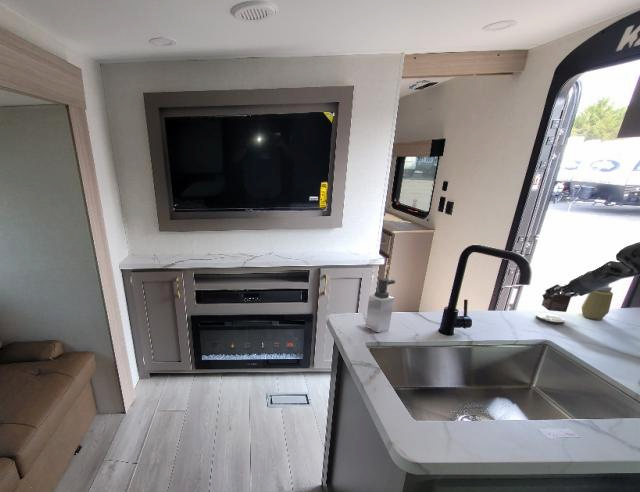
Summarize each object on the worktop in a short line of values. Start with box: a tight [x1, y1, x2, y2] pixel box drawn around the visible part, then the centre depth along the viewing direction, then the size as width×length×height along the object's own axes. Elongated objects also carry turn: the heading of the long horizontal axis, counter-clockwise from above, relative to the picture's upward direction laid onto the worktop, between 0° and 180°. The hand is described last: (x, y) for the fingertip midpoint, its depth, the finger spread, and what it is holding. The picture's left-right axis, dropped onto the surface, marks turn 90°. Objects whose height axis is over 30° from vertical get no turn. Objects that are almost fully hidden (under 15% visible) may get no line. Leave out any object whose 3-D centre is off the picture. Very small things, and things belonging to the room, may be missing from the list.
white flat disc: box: [535, 312, 566, 325], centre depth 138 cm, size 9×9×1 cm
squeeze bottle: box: [581, 284, 614, 321], centre depth 136 cm, size 8×8×18 cm
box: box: [541, 291, 573, 313], centre depth 134 cm, size 6×6×7 cm
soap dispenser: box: [365, 277, 396, 333], centre depth 133 cm, size 6×9×22 cm
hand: (553, 297), depth 135 cm, fingers closed on box, 7 cm apart
